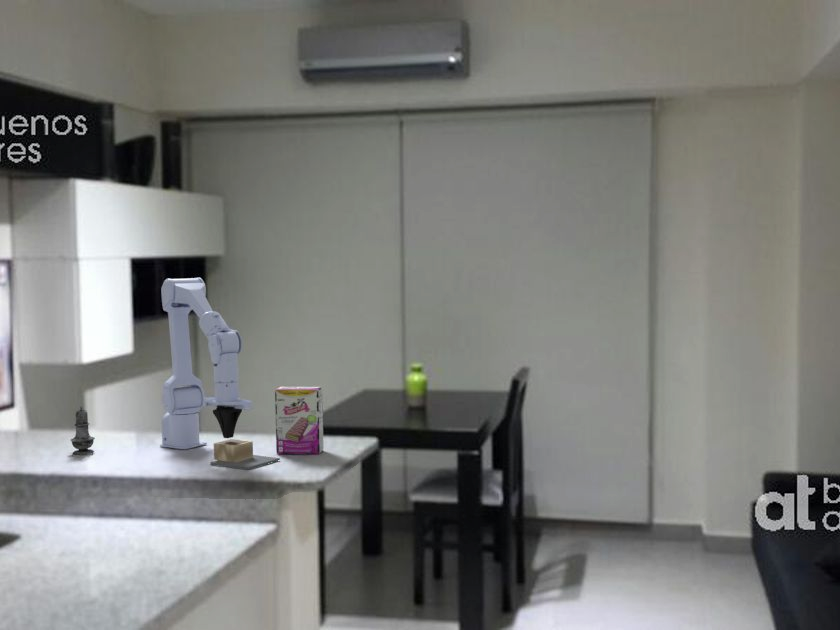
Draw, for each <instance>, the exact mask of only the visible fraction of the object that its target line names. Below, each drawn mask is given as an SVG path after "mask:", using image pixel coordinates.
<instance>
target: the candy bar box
mask: <svg viewBox="0 0 840 630" xmlns="http://www.w3.org/2000/svg"><path fill="white" fill-rule="evenodd" d="M274 398H275V400H274V402H275V404H274V405H275V406H274V407H275V439H276V442H275V445H276V447H275V448H276V449H275V450H276V454H277V455H320V454H321V453H322V452H324V414H323V413H324V412H323V411H324V408H323V387H322V386H278V387H277V388H274Z"/></svg>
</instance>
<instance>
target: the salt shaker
mask: <svg viewBox="0 0 840 630" xmlns="http://www.w3.org/2000/svg"><path fill="white" fill-rule="evenodd" d="M88 416H89V415H88V411H87V410H86V409H83V407H82V406H79V409H78V410H76V412H75V424H74V427H75V435H74V437H73V438H71V439H70V442H71V444H72V447H73V448H74V449H76V450H74V451H73V452H72V455H74V456H81V455H82V456H83V455H89V454H94V453H95V450H93V449H91V448H92V446H93V444H94V440H95V436H91V435H90V432H89V425H90V423H89V419H88Z"/></svg>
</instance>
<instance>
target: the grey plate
mask: <svg viewBox="0 0 840 630" xmlns="http://www.w3.org/2000/svg"><path fill="white" fill-rule="evenodd" d="M278 460H280V461H281V459H280V457H275V456H273V457H272V456H265V455H259V454H257V455H256V454H253V458H250V459H247V460H243V461H240V462H236V463H235V462H227V461H220V460H214V461H210V462H209V463H210V465H211V466H217V467H223V468H231V469H239V470H247V471H250V470H252V469H256V468H259V467H262V466H266V465H265V464H267V465H269V464H268V463H270V464H272V463H271V462H274V463H276V462H275V461H277V462H279V461H278Z"/></svg>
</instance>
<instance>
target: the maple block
mask: <svg viewBox="0 0 840 630" xmlns="http://www.w3.org/2000/svg"><path fill="white" fill-rule="evenodd" d="M253 442H254V441H252V440H244V439H236V438H228V439H226V440H225V439H224V440H222V441H217V442H214V443H213V459H214V461H217V460H220V461H227V462H235V463H236V462H240V461H243V460H247V459H250V458H253V455H254V446H253V445H254V444H253Z"/></svg>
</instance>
